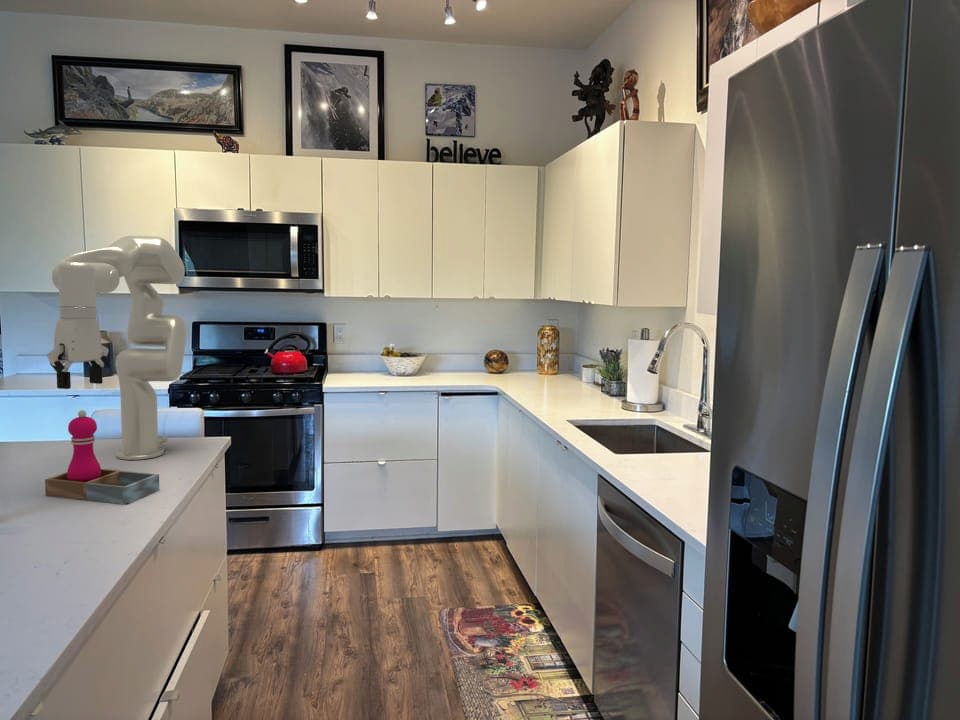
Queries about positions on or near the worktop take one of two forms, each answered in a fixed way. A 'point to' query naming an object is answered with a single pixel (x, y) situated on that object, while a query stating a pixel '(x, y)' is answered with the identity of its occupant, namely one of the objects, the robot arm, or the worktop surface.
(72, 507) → the worktop surface
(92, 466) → the pepper mill
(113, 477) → the organizer
